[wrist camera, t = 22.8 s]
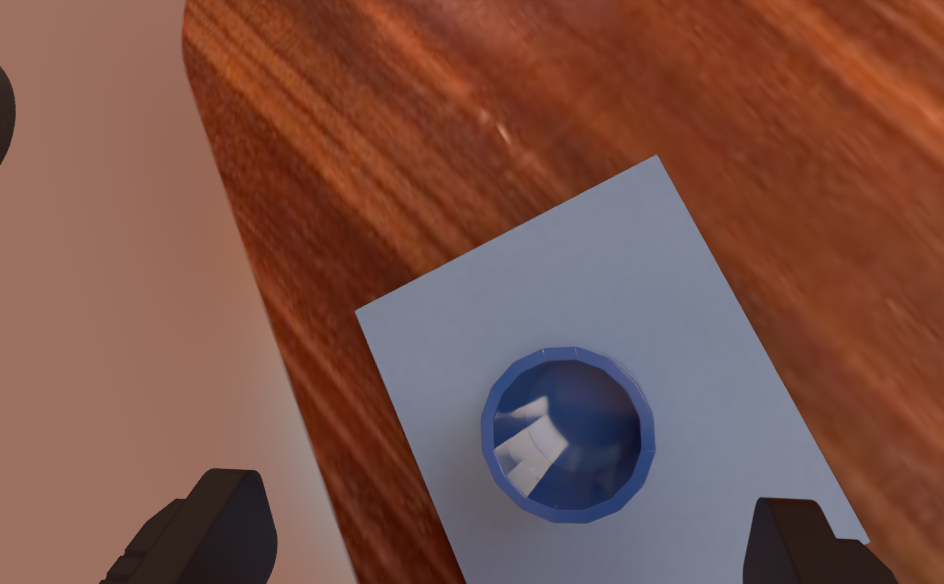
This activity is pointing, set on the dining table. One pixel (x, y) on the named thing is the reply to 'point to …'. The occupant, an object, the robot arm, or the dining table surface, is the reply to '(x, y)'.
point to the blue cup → (568, 434)
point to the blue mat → (637, 347)
